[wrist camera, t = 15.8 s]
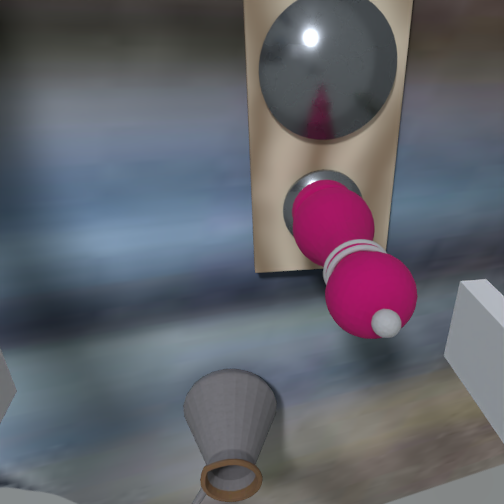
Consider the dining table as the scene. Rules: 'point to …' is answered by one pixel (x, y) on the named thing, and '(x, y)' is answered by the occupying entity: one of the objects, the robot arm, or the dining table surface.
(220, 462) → the coffee pot
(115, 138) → the dining table surface
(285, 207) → the flange
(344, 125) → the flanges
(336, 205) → the pepper mill
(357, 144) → the tan flat board
